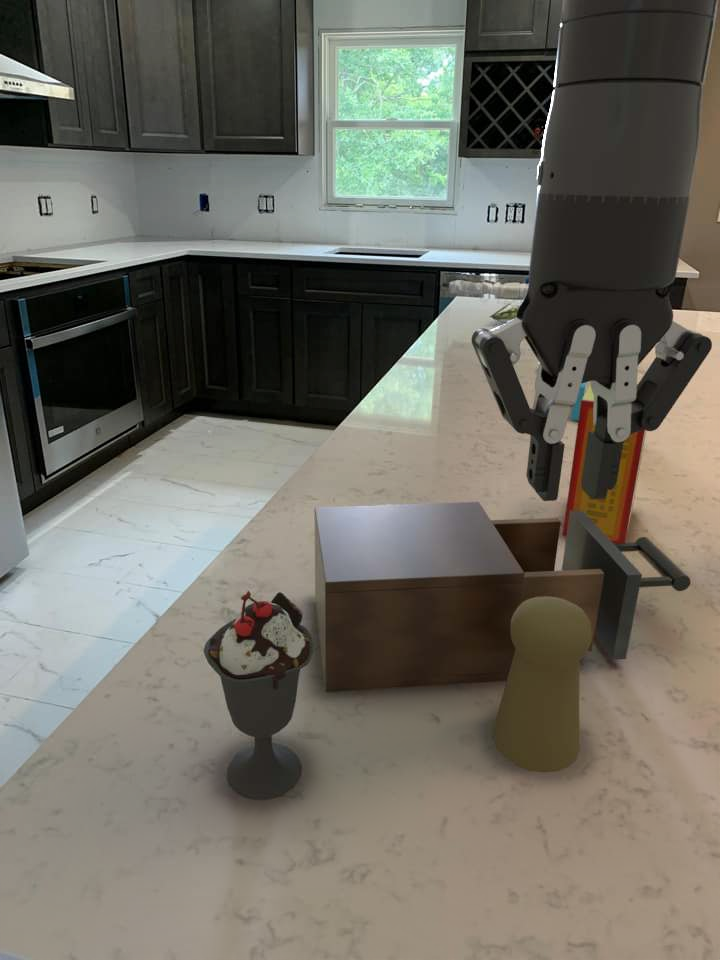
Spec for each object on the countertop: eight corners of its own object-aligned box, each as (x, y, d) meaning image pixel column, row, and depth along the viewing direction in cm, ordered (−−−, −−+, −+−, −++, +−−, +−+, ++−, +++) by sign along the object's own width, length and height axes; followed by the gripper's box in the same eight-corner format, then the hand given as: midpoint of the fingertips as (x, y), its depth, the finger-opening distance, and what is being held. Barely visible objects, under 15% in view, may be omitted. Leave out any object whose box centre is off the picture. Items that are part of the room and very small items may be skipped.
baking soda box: (575, 503, 89) (593, 376, 83) (631, 513, 87) (654, 383, 81) (562, 536, 81) (581, 397, 75) (623, 547, 79) (649, 405, 73)
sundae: (228, 826, 45) (213, 617, 39) (204, 751, 50) (188, 559, 44) (329, 793, 47) (329, 592, 41) (295, 726, 53) (291, 541, 47)
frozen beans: (510, 292, 207) (601, 300, 197) (508, 313, 210) (598, 321, 200) (489, 305, 190) (587, 314, 180) (487, 328, 192) (584, 337, 183)
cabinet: (470, 595, 69) (478, 501, 66) (512, 681, 58) (525, 573, 54) (315, 602, 68) (314, 507, 64) (325, 693, 56) (325, 582, 52)
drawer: (628, 582, 70) (642, 507, 67) (693, 655, 60) (712, 571, 57) (431, 591, 68) (436, 515, 65) (461, 669, 57) (469, 582, 54)
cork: (484, 759, 50) (498, 623, 46) (500, 704, 55) (514, 577, 51) (575, 783, 48) (599, 644, 44) (582, 723, 53) (604, 594, 49)
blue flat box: (579, 402, 130) (584, 368, 127) (588, 403, 129) (593, 369, 127) (570, 421, 119) (575, 384, 117) (580, 422, 119) (585, 385, 116)
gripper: (502, 187, 33) (473, 527, 40) (784, 192, 35) (711, 518, 42) (462, 184, 40) (443, 475, 47) (699, 188, 42) (648, 469, 49)
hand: (569, 493), depth 44 cm, fingers closed
